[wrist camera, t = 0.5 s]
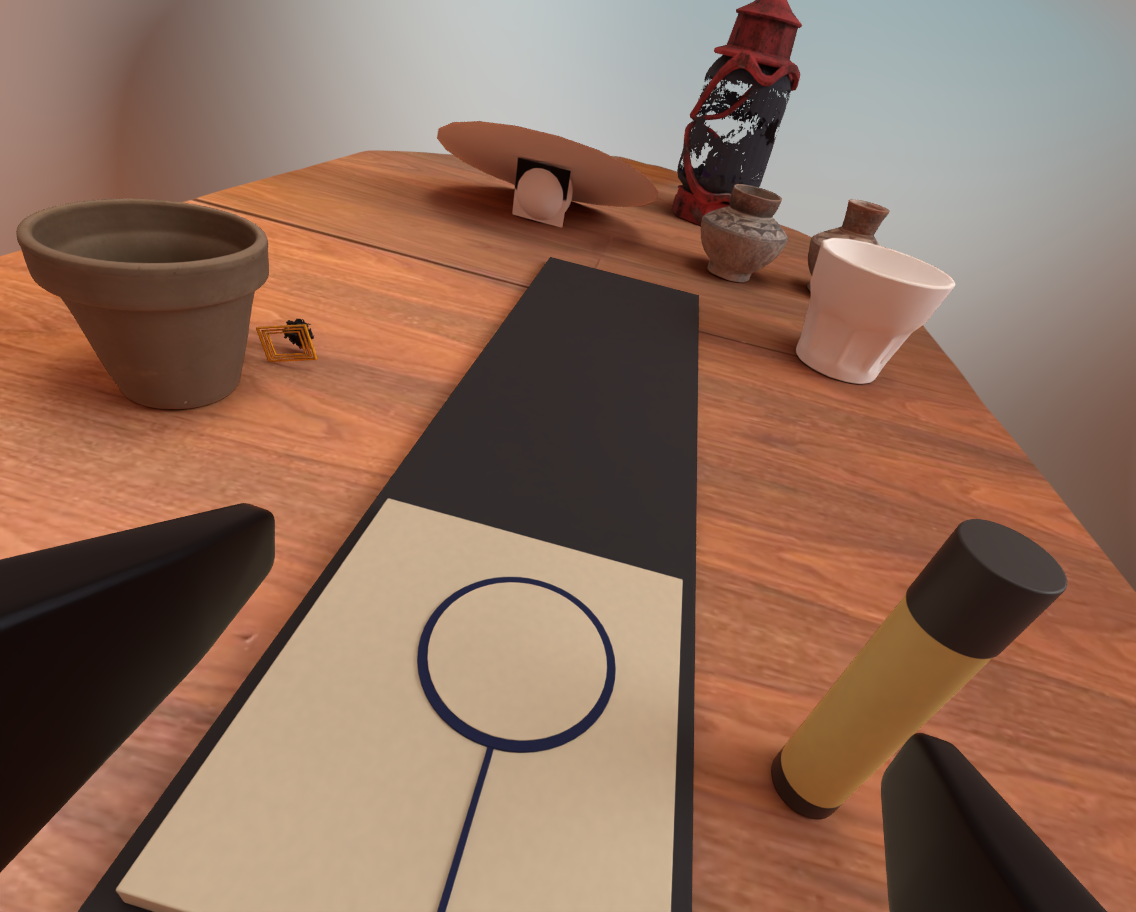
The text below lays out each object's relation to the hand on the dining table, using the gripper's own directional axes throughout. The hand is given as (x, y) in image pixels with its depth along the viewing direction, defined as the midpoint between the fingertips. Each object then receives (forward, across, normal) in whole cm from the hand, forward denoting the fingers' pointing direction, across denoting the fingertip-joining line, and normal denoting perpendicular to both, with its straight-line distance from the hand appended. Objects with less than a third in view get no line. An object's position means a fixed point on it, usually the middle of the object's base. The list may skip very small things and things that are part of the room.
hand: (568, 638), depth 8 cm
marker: (+13, -11, +15) cm, 23 cm away
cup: (+60, -17, +8) cm, 63 cm away
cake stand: (+82, +23, +4) cm, 86 cm away
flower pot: (+24, +29, +13) cm, 40 cm away
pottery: (+82, -12, +4) cm, 83 cm away
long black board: (+33, +5, +12) cm, 36 cm away
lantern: (+109, 0, 0) cm, 109 cm away
